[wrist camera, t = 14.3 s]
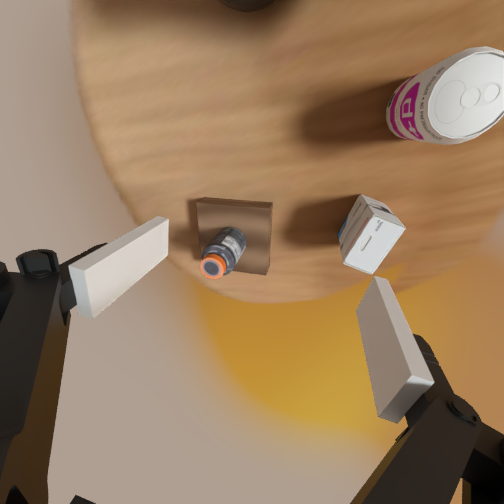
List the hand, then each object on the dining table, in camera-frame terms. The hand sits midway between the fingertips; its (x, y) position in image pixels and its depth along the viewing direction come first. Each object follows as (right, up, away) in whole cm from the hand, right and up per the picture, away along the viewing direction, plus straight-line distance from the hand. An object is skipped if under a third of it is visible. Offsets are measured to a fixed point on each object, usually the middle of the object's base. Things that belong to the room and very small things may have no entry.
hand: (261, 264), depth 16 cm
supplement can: (+23, +22, +21) cm, 38 cm away
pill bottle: (-4, +3, +33) cm, 33 cm away
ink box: (+19, +7, +29) cm, 36 cm away
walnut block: (-4, +5, +36) cm, 37 cm away
